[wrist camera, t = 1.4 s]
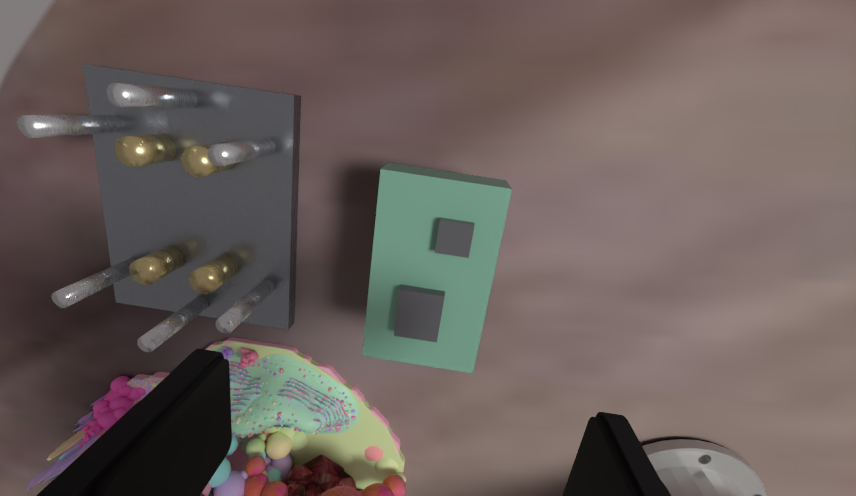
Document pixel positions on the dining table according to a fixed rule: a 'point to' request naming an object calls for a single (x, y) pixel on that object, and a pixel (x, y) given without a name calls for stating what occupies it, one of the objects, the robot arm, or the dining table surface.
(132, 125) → the chassis
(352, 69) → the dining table surface
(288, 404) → the pastel sphere sculpture
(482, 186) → the board
